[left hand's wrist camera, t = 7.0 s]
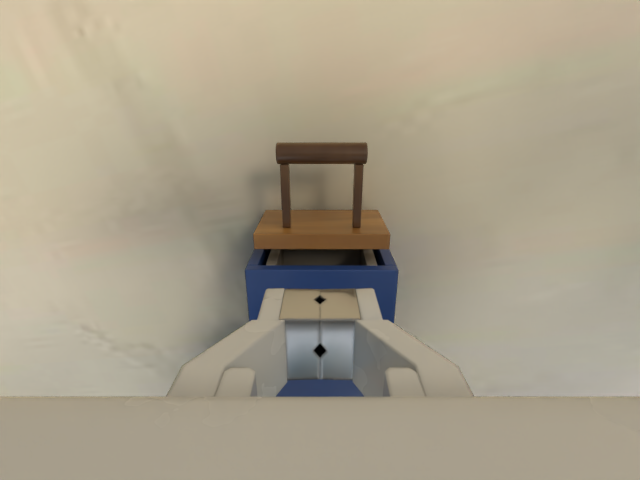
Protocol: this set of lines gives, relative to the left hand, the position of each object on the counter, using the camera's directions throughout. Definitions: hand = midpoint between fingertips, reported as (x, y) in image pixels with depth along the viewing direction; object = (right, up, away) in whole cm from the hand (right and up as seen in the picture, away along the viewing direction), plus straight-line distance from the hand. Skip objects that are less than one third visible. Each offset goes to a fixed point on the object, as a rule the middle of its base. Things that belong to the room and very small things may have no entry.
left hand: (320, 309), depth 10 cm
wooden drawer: (0, +2, +22) cm, 22 cm away
